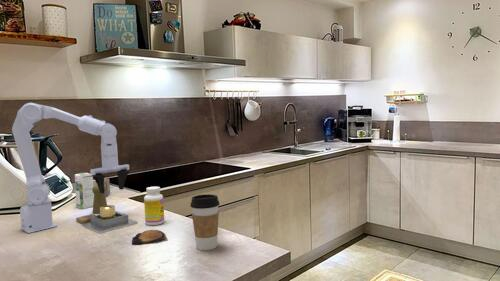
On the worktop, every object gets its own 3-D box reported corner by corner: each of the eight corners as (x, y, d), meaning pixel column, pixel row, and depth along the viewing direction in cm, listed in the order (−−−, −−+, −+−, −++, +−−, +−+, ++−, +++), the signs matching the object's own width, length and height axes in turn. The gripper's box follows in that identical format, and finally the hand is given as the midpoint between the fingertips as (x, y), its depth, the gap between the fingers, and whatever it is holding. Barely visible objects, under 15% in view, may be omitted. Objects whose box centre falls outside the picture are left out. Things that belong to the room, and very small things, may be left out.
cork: (104, 209, 154) (102, 183, 154) (111, 211, 150) (109, 185, 150) (89, 212, 150) (88, 185, 149) (96, 214, 146) (95, 187, 145)
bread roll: (165, 235, 120) (164, 224, 120) (168, 243, 112) (167, 231, 112) (131, 239, 117) (130, 228, 117) (131, 248, 109) (131, 236, 109)
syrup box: (75, 207, 159) (73, 174, 158) (89, 204, 164) (87, 172, 163) (81, 209, 155) (79, 175, 154) (95, 206, 160) (92, 173, 159)
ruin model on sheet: (107, 198, 178) (106, 178, 177) (101, 198, 177) (99, 178, 176) (111, 193, 189) (109, 174, 188) (104, 193, 188) (103, 174, 187)
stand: (83, 224, 133) (83, 220, 133) (76, 221, 137) (76, 217, 137) (99, 220, 138) (99, 216, 137) (92, 217, 142) (92, 214, 142)
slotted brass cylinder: (118, 222, 132) (117, 205, 132) (105, 226, 128) (104, 208, 128) (110, 220, 135) (109, 203, 135) (98, 223, 131) (97, 206, 131)
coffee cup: (196, 254, 101) (194, 200, 100) (189, 244, 109) (186, 194, 108) (225, 248, 105) (223, 196, 104) (216, 239, 112) (214, 191, 111)
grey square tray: (99, 233, 122) (99, 224, 122) (81, 225, 132) (81, 217, 132) (137, 223, 133) (137, 214, 132) (118, 216, 142) (117, 208, 142)
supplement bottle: (163, 225, 129) (161, 189, 128) (144, 226, 128) (142, 190, 127) (165, 219, 136) (163, 185, 135) (146, 221, 135) (144, 186, 134)
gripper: (95, 158, 131) (97, 196, 132) (132, 154, 141) (134, 188, 142) (86, 157, 135) (89, 193, 137) (123, 153, 146) (125, 186, 147)
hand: (111, 191), depth 140 cm, fingers open, 7 cm apart
